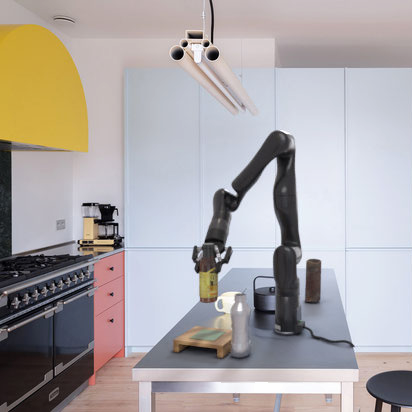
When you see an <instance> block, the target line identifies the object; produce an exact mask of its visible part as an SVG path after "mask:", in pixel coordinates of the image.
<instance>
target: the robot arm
mask: <svg viewBox="0 0 412 412" xmlns="http://www.w3.org/2000/svg"><path fill="white" fill-rule="evenodd" d="M296 153H297V141H296V139H295V137H294V135H293V134H291V133H290V132H289V131H288V132H287V131H284V130H283V129H282V130H281V129H276V130H273V131H271V132H270V133H269V134H268V135H267V137H266V138H265V140H264V142H263V143H262V144H261V146H260V148H259V149H258V151H257V152H256V153H255V154H254V156H252V159H251V160H250V161H249V162H248V163H247V165H245V166H244V168H243V169H242V170H241V171H240V172H239V173H238V174H237V176H236V177H235V178H234V179H232V181H231V185H230V186H231V188H232V189H233V191H234V192H235V193H236V194H234V193H232V192H231V191H229V190H228V189H226V188H223V187H222V188H219V189H217V190H216V191H215V192H214V194H213V197H212V217H211V221H210V222H209V225H208V227H207V231H206V233H205V234H206V235H205V238H204V241H203V244H204V243H214V244H215V248H214V257H215V259H217V261H216V262H217V265H216V268H215V273H216V274H218V275H220V274H219V273H221V272H222V268H223V265H228V264H229V263H230V260H231V258H232V255H233V253H234V250H233V247H232V246H231V245H229V246H227V241H228V237H229V235H230V226H231V222H232V218H233V214H232V213H235V212H236V211H238V210H239V208H240V206H241V203H242V202H243V200H244V198H245V197H246V195H247V193H248V192H250V190H251V189H252V188H253V187H254V186H255V185H256V184H257V183H258V182H259V180H260V178H261V176H262V175H263V173H264V171H265V169H266V168H267V166H269V164H270V163H271V162H272V161H273V160H276V175H275V178H274V181H273V189H272V204H273V205H272V206H273V211H274V215H275V218H276V220H277V223H278V226H279V229H280V245H278V246H277V247H276V248H275V249H274V251H273V254H272V273H273V274H272V276H273V280H274V286H275V287H274V289H275V290H274V291H275V293H274V311H275V312H274V332H275V333H276V334H278V335H282V336H292V335H298V334H299V333H302V332H303V331H304V330H307V331H309V333H310V336H311V337H312V338H313V339H315V340H316V339H317V340H322V341H324V342H327V343H331V344H341V343H343V344H348V345H349V346H351V347H352V348H356V346H355V344H353V343H352V342H351V341H350V340H346V339H338V340H333V339H329V338H325V337H323V336H318V335H314V332H313V330H312V329H311V328H310V327H309V326H306V321H305V320H302V305H301V293H300V292H301V280H300V279H301V278H299V277H298V271H297V270H298V265H299V264H300V262H301V260H302V259H303V247H302V243H301V235H300V229H299V199H298V187H297V175H296ZM203 244H202V245H201V246H198V245H196V244H195V245H194V246H193V249H192V254H191V260H192V263H193V264H195V265H194V269H193V270H194V272H195V273H196V274H197V275H199V271H200V262H201V260H202V258H203ZM223 253H225V254H224V256H223V258H222V256H221V255H223ZM358 412H361V409H359V410H358Z"/></svg>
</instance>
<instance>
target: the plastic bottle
mask: <svg viewBox="0 0 412 412" xmlns="http://www.w3.org/2000/svg"><path fill="white" fill-rule="evenodd" d="M247 299H248V297H247V294H246V293H244V292H239V293H234V299H233V301H234V303H233V304H232V307H231V308H230V313H229V314H230V321H231V330H232V338H231V344H230V352H229V354H230V355H231V356H232V357H234V358H245V357H248V356H249V354H250V353H251V351H252V346H251V340H250V339H251V338H250V321H251V315H252V309H251V307H250V305H249V304H248V303H247Z"/></svg>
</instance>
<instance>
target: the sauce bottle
mask: <svg viewBox="0 0 412 412" xmlns="http://www.w3.org/2000/svg"><path fill="white" fill-rule="evenodd" d="M202 245H203V258H202V260H201V262H200V271H199V274H198V297H199V302H200V303H203V304H211V303H216V302H217V301H218V297H219V274H216V273H215V268H216V265H217V262H218V261H217V260H216V258H215V257H214V248H215V244H214V243H204V242H203V243H202Z"/></svg>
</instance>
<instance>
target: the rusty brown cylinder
mask: <svg viewBox="0 0 412 412" xmlns="http://www.w3.org/2000/svg"><path fill="white" fill-rule="evenodd" d="M305 262H306V263H305V287H304V289H305V290H304V301H305V302H306V303H318V302H320V301H321V297H322V296H321V295H322V293H321V292H322V260H321V259H318V258H308V259H306V261H305Z"/></svg>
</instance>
